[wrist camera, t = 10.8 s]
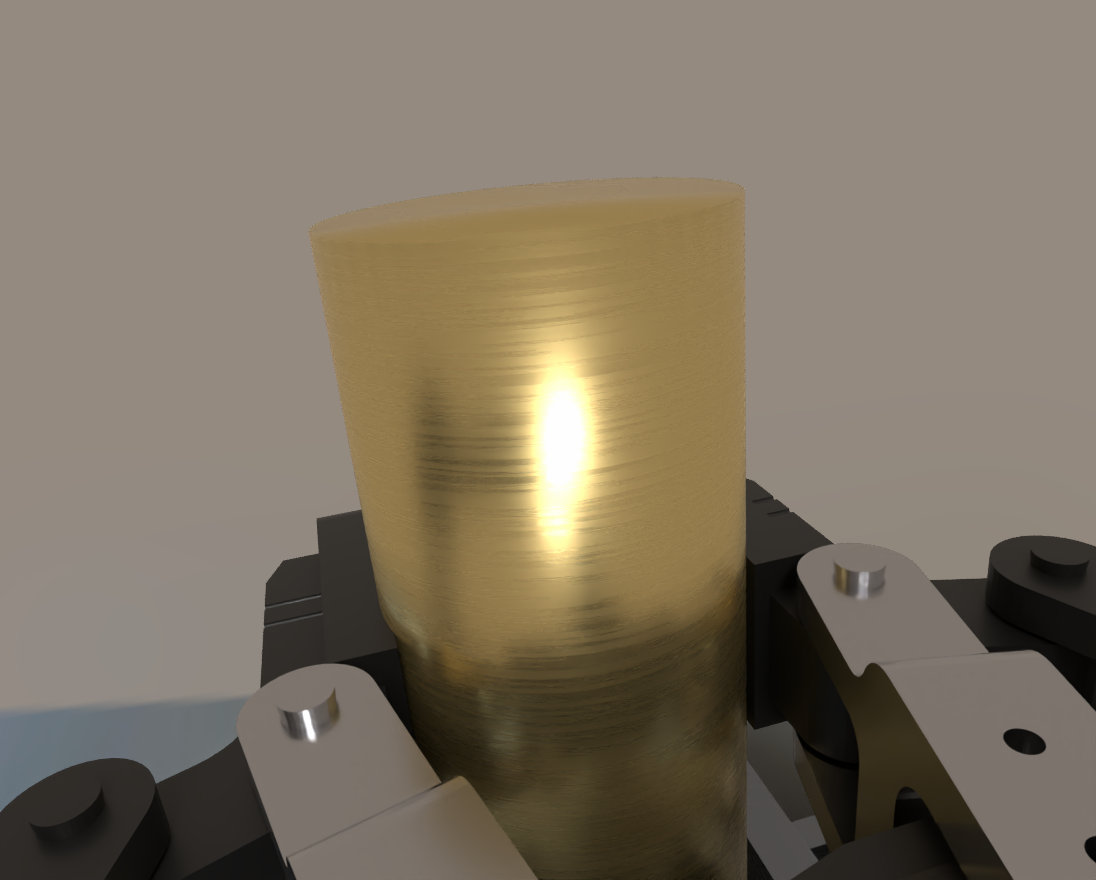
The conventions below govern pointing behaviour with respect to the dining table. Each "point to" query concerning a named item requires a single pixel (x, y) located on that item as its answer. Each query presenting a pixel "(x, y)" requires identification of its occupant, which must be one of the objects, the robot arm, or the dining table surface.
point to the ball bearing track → (778, 836)
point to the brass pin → (560, 504)
